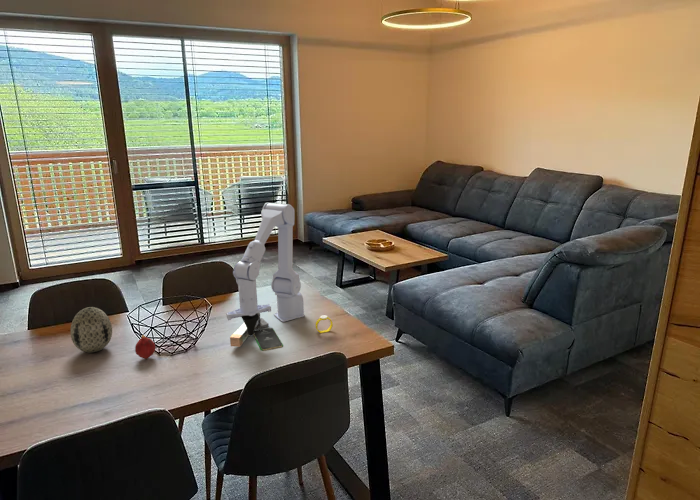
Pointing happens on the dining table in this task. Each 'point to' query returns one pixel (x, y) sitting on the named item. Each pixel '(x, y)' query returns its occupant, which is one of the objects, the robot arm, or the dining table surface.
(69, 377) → the dining table surface
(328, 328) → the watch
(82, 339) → the decorative egg
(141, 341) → the onion
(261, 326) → the pivot plate
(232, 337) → the swing bar
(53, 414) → the dining table surface
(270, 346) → the smartphone
